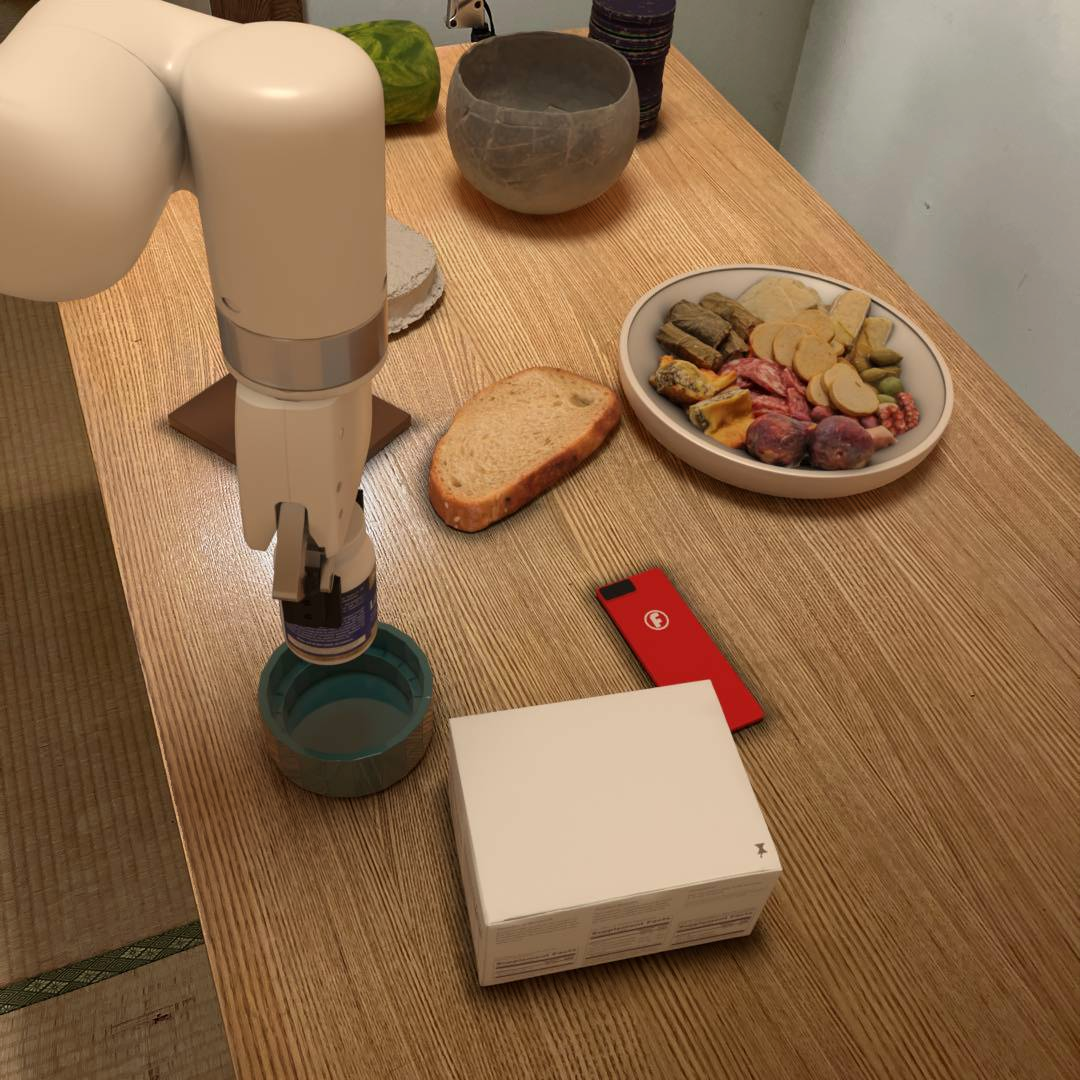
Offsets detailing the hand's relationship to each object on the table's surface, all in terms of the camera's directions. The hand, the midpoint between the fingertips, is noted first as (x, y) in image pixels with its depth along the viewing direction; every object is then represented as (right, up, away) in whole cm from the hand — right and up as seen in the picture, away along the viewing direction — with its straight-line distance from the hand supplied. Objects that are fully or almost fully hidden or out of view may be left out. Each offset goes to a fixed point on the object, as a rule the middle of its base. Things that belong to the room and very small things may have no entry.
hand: (326, 575), depth 62 cm
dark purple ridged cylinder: (+22, +54, +72) cm, 93 cm away
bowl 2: (+34, +15, +39) cm, 53 cm away
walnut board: (-9, +12, +32) cm, 35 cm away
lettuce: (-10, +52, +68) cm, 86 cm away
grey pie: (-7, +27, +45) cm, 53 cm away
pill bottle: (0, -4, +4) cm, 5 cm away
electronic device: (+22, -6, +18) cm, 29 cm away
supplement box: (+16, -19, +7) cm, 25 cm away
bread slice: (+11, +10, +32) cm, 35 cm away
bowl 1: (+12, +41, +60) cm, 73 cm away
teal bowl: (-1, -11, +12) cm, 16 cm away
